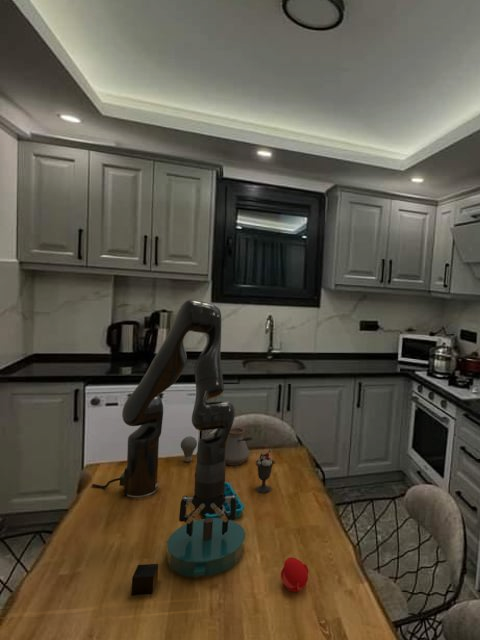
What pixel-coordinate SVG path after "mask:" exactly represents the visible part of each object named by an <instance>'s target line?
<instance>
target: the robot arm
mask: <svg viewBox="0 0 480 640" xmlns="http://www.w3.org/2000/svg"><path fill="white" fill-rule="evenodd" d="M189 332H192V333H193V332H194V333H198V334H205V338H206V343H205V346H204V348H203V350H202V351H201V353H200V355H199V357H198V358H197V360H196V361H195V365H194V381H195V399H194V400H195V401H194V405H193V408H192V409H193V410H192V413H191V424H192V426H193V427H194V429H195V430H197V431H199V432H200V431H202V432H203V431H211V430H215V431H214V432H213V433H210V434H208V435H205V436H203V437H201V438H200V439H199V440H198V441H197V452H196V453H197V454H196V456H197V457H196V464H195V472H194V489H193V491H194V492H193V496H191V497H189V496H188V495H183V496H182V498H181V500H180V506H179V516H178V521H179V522H181V523H182V522H185V523H186V524H187V528H186V533H187V534H189V537H190V536H192V534H193V521H195V519H196V518H197V517H198V516H199V514H201V515H205V514H207V513H209V514H214V513H215V512H216V513H217V515H218V516H219V517H221V519H222V520H223V522H222V535H225V532H227V530H228V521H229V520H232V521H234V520H235V519H236V518H235V515H236V495H235V494H233V495H232V496H225V494H224V488H225V482H226V471H227V470H226V468H227V464H226V463H225V454H226V443H227V440H228V438H229V436H230V435H229V432H230V430H231V429H232V427H233V424H234V421H235V417H236V409H235V406H234V405H233V403H231V402H230V401H228V400H227V401H226V400H224V401H223V400H222V401H211V402H207V400H210V399H214V398H217V397H219V396H221V395H222V394H223V392H224V390H225V386H224V378H223V377H224V376H223V371H222V370H223V369H222V363H221V348H222V312H221V308H220V307H219V306H218V305H216V304H213V303H210V302H205V301H202V300H201V301H200V300H197V299H186V300H185V301H184V302H183V303H182V305H181V306H180V307H179V310H178V311H177V314H176V316H175V318H174V320H173V322H172V324H171V328H170V330H169V331H168V333H167V336H166V337H165V339H164V341H163V343H162V344H161V347H160V348H159V350H158V351H157V353H156V354H155V355H154V357H153V359H152V361H151V363H150V365H149V367H148V369H147V370H146V372H145V373H144V375H143V377H142V379H141V380H140V382H139V383H138V385H136V387H135V389H134V390H133V391H132V392H131V394H130V395H129V397H128V398H127V399H126V400H125V403H124V404H123V408H122V410H121V411H122V413H121V416H122V421H123V422H124V424H125V425H127V426H128V427H138V428H136V430H135V431H133V432H132V433H131V434H129V435H128V437H127V449H126V450H127V451H126V453H127V454H126V458H127V459H126V467H125V468H124V470H123V473H122V474H121V475H120V476H119V477H117V478H114V479H111V480H109V481H107V483H106V484H105V485H100V484H96V483H92V484H91V487H95V488H99V489H105V488H108V486H110V484H112V483H114V482H117V481H118V482H119V487H123V497H128V498H130V499H142V498H147V497H149V496H153V495H155V494H156V493H157V492H158V486H159V481H158V472H159V447H160V437H161V435H162V431H163V419H164V404H163V400H162V398H161V397H160V396H159V395H161V394H162V393H164V392H165V391H166V390H168V389H169V388H170V387H172V386H173V385H174V384H175V383H176V382H177V381H178V380H179V378H180V376H181V375H182V373H183V372H184V370H185V369H186V366H187V364H188V357H187V352H186V348H185V344H184V339H185V337H186V335H187V334H188V333H189ZM225 501H226V502H228V505H231V510H230V513H227V511H226V510H225V508H224V506H223V504H224V503H225ZM190 504H192V505H193V506H194V507H193V509H192V510H191V512H190V513H189V514H187V507H189V506H190Z"/></svg>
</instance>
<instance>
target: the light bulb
mask: <svg viewBox="0 0 480 640" xmlns="http://www.w3.org/2000/svg"><path fill="white" fill-rule="evenodd" d="M197 447H198V441H197V439H196V438H195V437H194V436H192V435H191V436H189V435H188V436H186V437H184V438H183V439H182V440H181V442H180V448H181V449H180V450H182V452H183V455H184V462H187V463H189V462H191V461H192V459H193V458H192V457H193V455H194V451H195V450H196V448H197Z"/></svg>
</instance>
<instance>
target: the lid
mask: <svg viewBox="0 0 480 640" xmlns="http://www.w3.org/2000/svg"><path fill="white" fill-rule="evenodd" d="M222 522H223V520H222V519H221V518H206V517H205V518H202V519H197V520H194V521H193V534H192V536H190V537H189V534H187V533H186V528H187V523H186V524H183V525H182V526H180V527H178V528H177V529H176V530H175V531H173V532H172V534H171V535H170V536H169V537H168V539H167V544H166V548H167V553H168V552H169V554H170V555H171V556H172V557H174V558H175V559H177V560H180V561H183V562H187V563H207V562H213V561H217V560H220V559H223V558H225V557H227V556H229V555H231V554H233V553H234V552H236V551H237V550H238V549H239V548H240V547H241V546H242V544H243V545H244V543H245V540H246V531H245V528H244V527H243V526H242V524H239V522H237V521H234V520H232V519H231V520H229V521H228V530H227V532H225V535H222Z"/></svg>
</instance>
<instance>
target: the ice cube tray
mask: <svg viewBox="0 0 480 640" xmlns="http://www.w3.org/2000/svg"><path fill="white" fill-rule="evenodd" d="M224 494H225V496H232V495H233V494H235V495H236V515H235V519H237V518H240V517H241V515H242V511H244V510H245V505H244V503H243V502H242V501H241V499H240V497H239V496H238V494H237V492H236V491H235V490H234V487H233V486H232V485H231V483H230V482H228V481H225V488H224ZM223 506H224V508H225V510H226V511H227V513H230V510H231V505H228V502H226V501H225V503H224V504H223ZM204 516H205V519H206V518H221V517H219V516H218V515H217V513H216V512H215V513H214V514H209V513H207V514H204Z"/></svg>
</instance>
